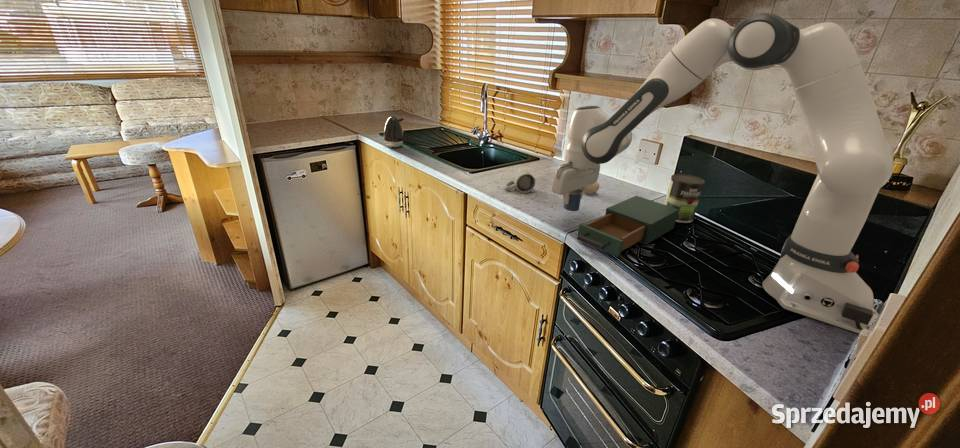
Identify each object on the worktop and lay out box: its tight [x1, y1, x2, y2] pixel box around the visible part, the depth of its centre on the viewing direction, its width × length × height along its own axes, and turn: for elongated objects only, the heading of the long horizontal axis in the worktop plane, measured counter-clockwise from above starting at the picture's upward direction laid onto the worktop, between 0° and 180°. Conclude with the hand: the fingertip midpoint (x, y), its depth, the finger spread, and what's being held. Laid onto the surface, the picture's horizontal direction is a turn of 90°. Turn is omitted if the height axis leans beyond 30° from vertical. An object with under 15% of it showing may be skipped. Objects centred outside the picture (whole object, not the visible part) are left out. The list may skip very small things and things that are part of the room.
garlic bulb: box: [584, 180, 600, 195], centre depth 156 cm, size 7×6×8 cm
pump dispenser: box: [383, 115, 405, 149], centre depth 205 cm, size 10×10×15 cm
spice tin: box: [563, 189, 583, 212], centre depth 130 cm, size 5×5×6 cm
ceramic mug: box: [505, 169, 536, 194], centre depth 157 cm, size 11×8×8 cm
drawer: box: [576, 213, 647, 258], centre depth 118 cm, size 22×14×5 cm, turn 132°
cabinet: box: [604, 195, 679, 246], centre depth 129 cm, size 19×15×7 cm
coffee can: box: [663, 173, 706, 224], centre depth 138 cm, size 10×10×14 cm
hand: (572, 201), depth 130 cm, fingers closed on spice tin, 5 cm apart
